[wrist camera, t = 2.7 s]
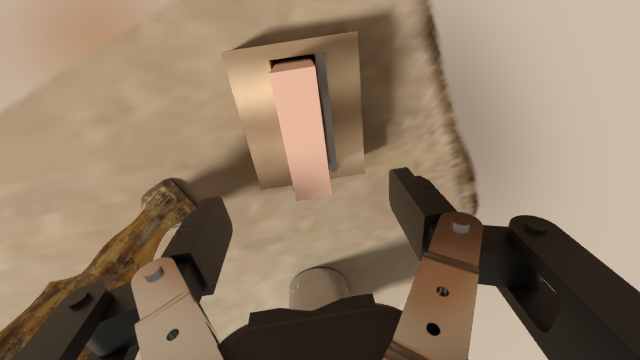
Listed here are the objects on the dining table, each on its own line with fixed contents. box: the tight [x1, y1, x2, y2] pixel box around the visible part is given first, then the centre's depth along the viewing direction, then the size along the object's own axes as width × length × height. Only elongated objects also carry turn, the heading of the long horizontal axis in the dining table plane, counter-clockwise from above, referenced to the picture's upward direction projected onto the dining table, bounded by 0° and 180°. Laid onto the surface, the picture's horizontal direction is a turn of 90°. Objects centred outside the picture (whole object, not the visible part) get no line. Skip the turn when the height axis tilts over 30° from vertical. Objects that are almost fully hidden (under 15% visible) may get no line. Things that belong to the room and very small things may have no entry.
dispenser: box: [221, 31, 365, 190], centre depth 25 cm, size 13×11×5 cm
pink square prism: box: [269, 56, 332, 201], centre depth 23 cm, size 10×3×10 cm, turn 8°
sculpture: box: [0, 179, 197, 360], centre depth 18 cm, size 7×6×30 cm
